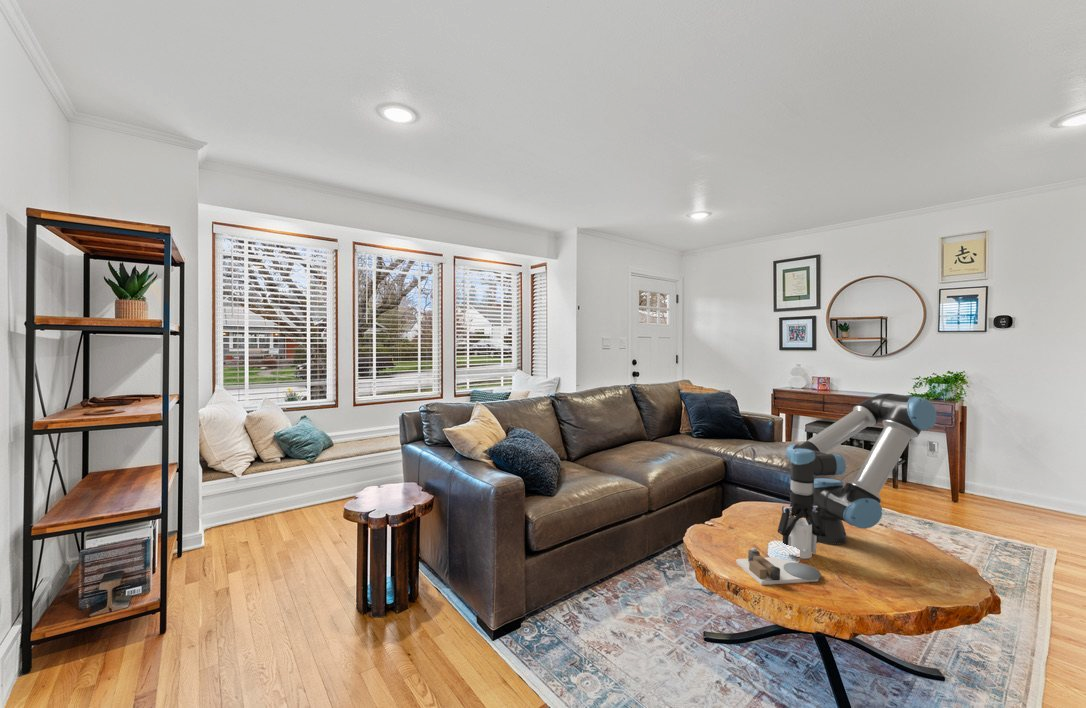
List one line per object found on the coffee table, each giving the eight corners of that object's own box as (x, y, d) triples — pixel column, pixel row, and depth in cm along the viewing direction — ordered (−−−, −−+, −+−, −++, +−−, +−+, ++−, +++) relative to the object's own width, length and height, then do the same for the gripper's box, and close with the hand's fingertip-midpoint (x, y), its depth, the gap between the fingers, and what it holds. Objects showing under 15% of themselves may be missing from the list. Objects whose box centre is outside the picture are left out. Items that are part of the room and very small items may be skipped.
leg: (782, 579, 149) (783, 569, 149) (772, 580, 148) (772, 570, 148) (755, 558, 163) (755, 549, 163) (746, 559, 162) (746, 549, 162)
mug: (818, 564, 163) (819, 530, 163) (792, 561, 165) (793, 528, 165) (807, 549, 175) (808, 518, 174) (782, 547, 177) (783, 516, 176)
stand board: (795, 559, 167) (796, 541, 167) (828, 582, 151) (829, 563, 151) (736, 562, 164) (736, 545, 164) (763, 586, 148) (763, 567, 148)
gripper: (821, 487, 174) (820, 546, 175) (767, 489, 171) (765, 549, 172) (837, 494, 167) (835, 555, 168) (780, 496, 164) (778, 558, 165)
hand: (800, 552), depth 170 cm, fingers open, 9 cm apart
